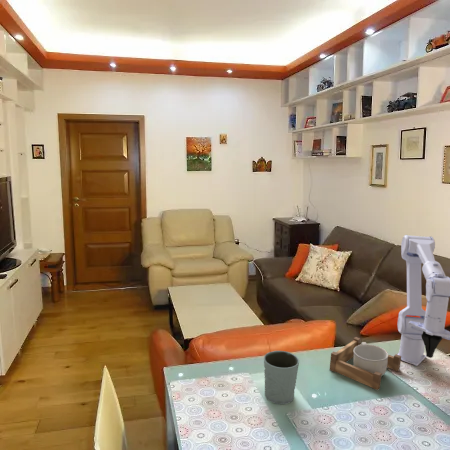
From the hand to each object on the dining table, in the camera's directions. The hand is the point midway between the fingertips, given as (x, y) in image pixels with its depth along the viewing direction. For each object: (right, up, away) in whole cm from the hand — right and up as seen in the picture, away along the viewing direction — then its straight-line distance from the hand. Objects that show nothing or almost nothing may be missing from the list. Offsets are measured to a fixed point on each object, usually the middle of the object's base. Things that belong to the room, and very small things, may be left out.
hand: (429, 356), depth 134 cm
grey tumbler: (-48, -10, -7) cm, 50 cm away
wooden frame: (-17, -8, +9) cm, 20 cm away
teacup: (-16, -8, +9) cm, 20 cm away
